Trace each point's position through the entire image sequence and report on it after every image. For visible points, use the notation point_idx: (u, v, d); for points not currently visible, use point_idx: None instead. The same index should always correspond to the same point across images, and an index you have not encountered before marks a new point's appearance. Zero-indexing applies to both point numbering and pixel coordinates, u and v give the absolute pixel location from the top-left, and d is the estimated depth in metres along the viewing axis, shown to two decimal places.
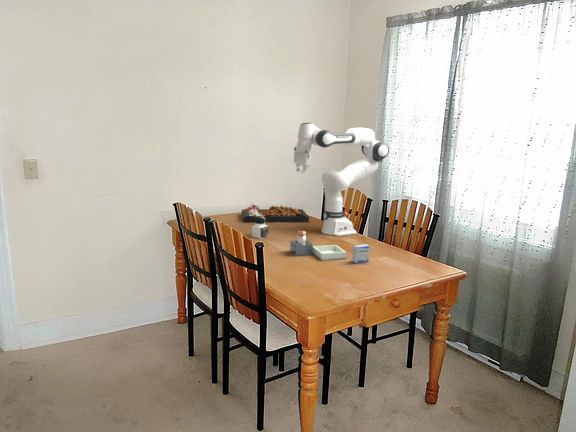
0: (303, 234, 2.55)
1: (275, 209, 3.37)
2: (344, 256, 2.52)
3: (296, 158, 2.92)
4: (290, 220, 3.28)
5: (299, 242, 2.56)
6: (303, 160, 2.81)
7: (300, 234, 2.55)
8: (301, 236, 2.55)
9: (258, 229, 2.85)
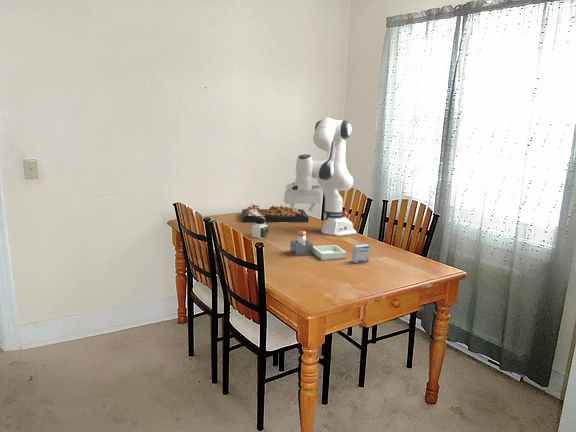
0: (303, 234, 2.55)
1: (275, 209, 3.37)
2: (344, 256, 2.52)
3: (294, 198, 2.49)
4: (289, 220, 3.27)
5: (299, 242, 2.56)
6: (316, 197, 2.53)
7: (300, 234, 2.55)
8: (301, 236, 2.55)
9: (258, 229, 2.85)
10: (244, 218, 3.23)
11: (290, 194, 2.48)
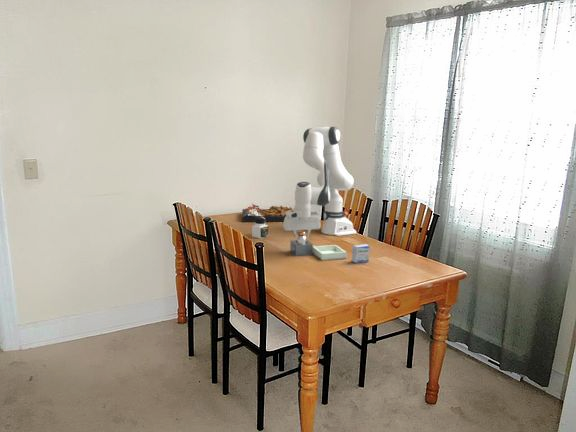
0: (303, 234, 2.55)
1: (275, 209, 3.37)
2: (344, 256, 2.52)
3: (293, 225, 2.53)
4: None
5: (299, 242, 2.56)
6: (315, 223, 2.56)
7: (300, 234, 2.55)
8: (301, 236, 2.55)
9: (258, 229, 2.85)
10: (243, 218, 3.24)
11: (289, 221, 2.51)
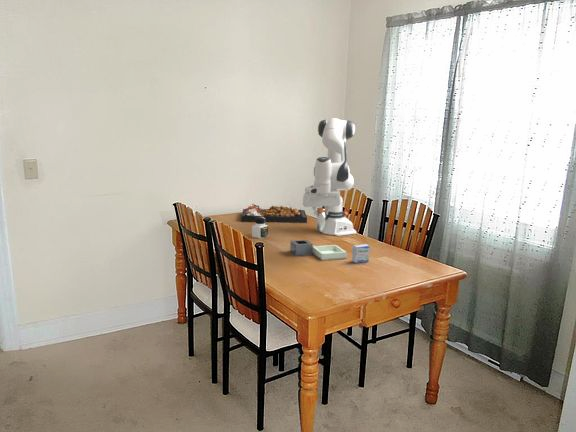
0: (323, 211, 2.50)
1: (275, 209, 3.37)
2: (344, 256, 2.52)
3: (313, 201, 2.48)
4: (288, 220, 3.27)
5: (318, 219, 2.51)
6: (334, 200, 2.51)
7: (320, 211, 2.50)
8: (321, 213, 2.50)
9: (258, 229, 2.85)
10: (242, 217, 3.25)
11: (309, 197, 2.46)
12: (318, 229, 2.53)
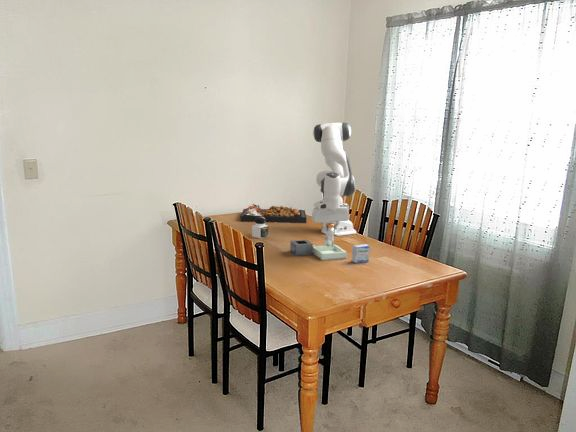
0: (332, 226, 2.51)
1: (274, 209, 3.37)
2: (344, 256, 2.52)
3: (322, 216, 2.48)
4: (287, 220, 3.26)
5: (327, 234, 2.52)
6: (343, 215, 2.52)
7: (329, 226, 2.51)
8: (330, 228, 2.51)
9: (258, 229, 2.85)
10: (242, 217, 3.26)
11: (318, 213, 2.47)
12: (327, 244, 2.53)
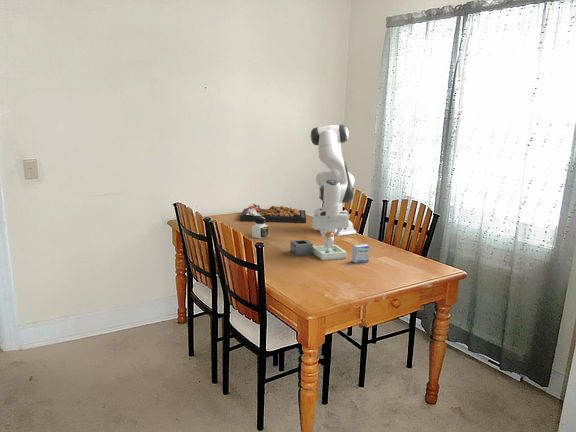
0: (331, 235, 2.52)
1: (274, 209, 3.37)
2: (344, 256, 2.52)
3: (322, 223, 2.49)
4: (287, 220, 3.26)
5: (327, 243, 2.53)
6: (343, 222, 2.53)
7: (328, 235, 2.52)
8: (329, 237, 2.52)
9: (258, 229, 2.85)
10: (241, 217, 3.26)
11: (318, 220, 2.48)
12: None
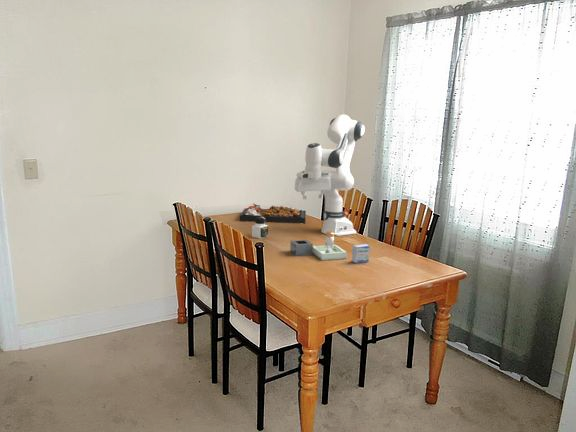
0: (332, 235, 2.52)
1: (274, 209, 3.37)
2: (344, 256, 2.52)
3: (305, 185, 2.58)
4: (286, 221, 3.26)
5: (327, 243, 2.53)
6: (325, 184, 2.62)
7: (328, 235, 2.52)
8: (329, 237, 2.52)
9: (258, 229, 2.85)
10: (241, 217, 3.27)
11: (301, 182, 2.56)
12: None
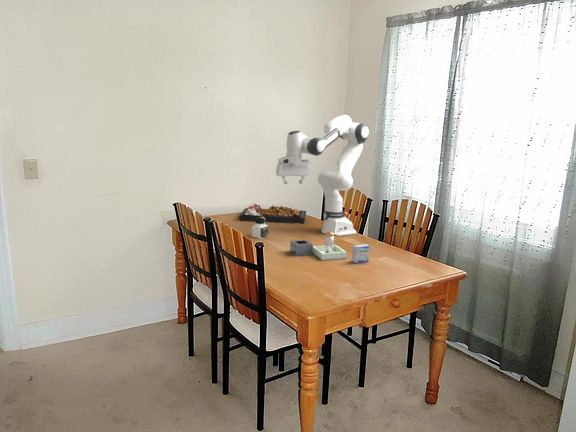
0: (331, 235, 2.52)
1: (274, 209, 3.37)
2: (344, 256, 2.52)
3: (285, 170, 2.71)
4: (285, 221, 3.26)
5: (327, 243, 2.53)
6: (305, 170, 2.75)
7: (328, 235, 2.52)
8: (329, 237, 2.52)
9: (258, 229, 2.85)
10: (240, 216, 3.27)
11: (281, 167, 2.69)
12: None
